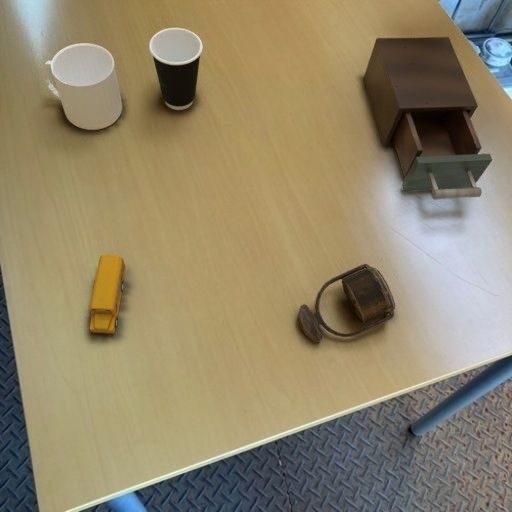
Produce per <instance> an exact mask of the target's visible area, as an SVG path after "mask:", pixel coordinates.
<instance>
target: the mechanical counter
mask: <svg viewBox="0 0 512 512" xmlns="http://www.w3.org/2000/svg"><path fill="white" fill-rule="evenodd" d="M338 281H341V285H342V289H343V293H344V296H345V298H346V300H347V302H348V304H349V306H350V308H351V309H352V311H353V312H352V313H354V315H355V316H356V319H357V320H358V321H359V323H361V324H362V325H366V324H368V323H370V322H371V323H370V324H368V325H366V326H365V327H362V328H360V329H358V330H355V331H353V332H350V333H348V332H347V333H343V332H338V331H337V330H335V329H332V328H331V327H330V326H329V325H327V324H326V322H325V321H324V319H323V317H322V315H321V311H320V301H321V298H322V295H323V293H324V291H325V290H326V289H327V288H328V287H329V286H330V285H332V284H334V283H335V282H338ZM314 309H315V313H314V314H313V313H312V311H311V308H310V307H309V306H308V304H306V303H303V304H301V305H300V307H299V310H298V323H299V326H300V328H301V329H302V332H303V333H304V334H305V335H306V336H307V337H308V338H309V339H310V340H312V341H314V342H317V343H320V342H321V341H322V340H323V335H322V332H321V330H320V326H321V327H322V328H324V330H325V331H327V332H328V333H330V334H332V335H334V336H337V337H341V338H353V337H357V336H359V335H361V334H363V333H366V332H367V331H369V330H372V329H374V328H376V327H378V326H380V325H382V324H384V323H386V322H388V321H390V320H392V319H393V318H394V317H395V312H394V310H395V309H396V303H395V299H394V296H393V294H392V291H391V289H390V287H389V285H388V282H387V281H386V279H385V277H384V276H383V274H382V273H381V272H380V271H379V269H377V268H375V267H373V266H370V265H369V264H367V263H363V264H361V265H358V266H356V267H354V268H351V269H349V270H347V271H345V272H343V273H341V274H338V275H336V276H334V277H332V278H330V279H329V280H327V281H326V282H324V283H323V285H322V287H321V288H320V289H319V290H318V292H317V295H316V298H315V303H314ZM388 314H389V315H388ZM385 315H386V316H385ZM382 316H384V317H383V318H381V317H382ZM379 318H380V319H379ZM376 319H377V320H376ZM375 320H376V321H375ZM372 321H374V322H372Z"/></svg>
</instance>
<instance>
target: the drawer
mask: <svg viewBox="0 0 512 512" xmlns="http://www.w3.org/2000/svg"><path fill="white" fill-rule="evenodd" d="M392 138H393V141H394V144H395V146H394V148H395V151H396V153H397V157H398V160H399V163H400V166H401V170H402V174H403V176H404V180H403V182H402V184H401V188H402V191H403V192H414V191H431V197H432V198H431V199H433V200H450V199H466V198H467V199H468V198H469V199H470V198H480V197H481V196H482V193H483V191H482V188H481V187H479V186H477V183H478V182H479V180H480V178H481V177H482V176H483V174H484V173H485V171H486V170H487V168H488V167H489V166H490V164H491V163H492V161H493V158H492V156H491V153H480V151H481V150H482V148H483V147H482V144H481V142H480V139H479V137H478V134H477V132H476V130H475V128H474V124H473V122H472V120H471V118H469V115H468V113H467V110H444V111H414V112H403V113H402V115H401V117H400V120H399V122H398V124H397V127H396V129H395V131H394V133H393V136H392Z"/></svg>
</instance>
